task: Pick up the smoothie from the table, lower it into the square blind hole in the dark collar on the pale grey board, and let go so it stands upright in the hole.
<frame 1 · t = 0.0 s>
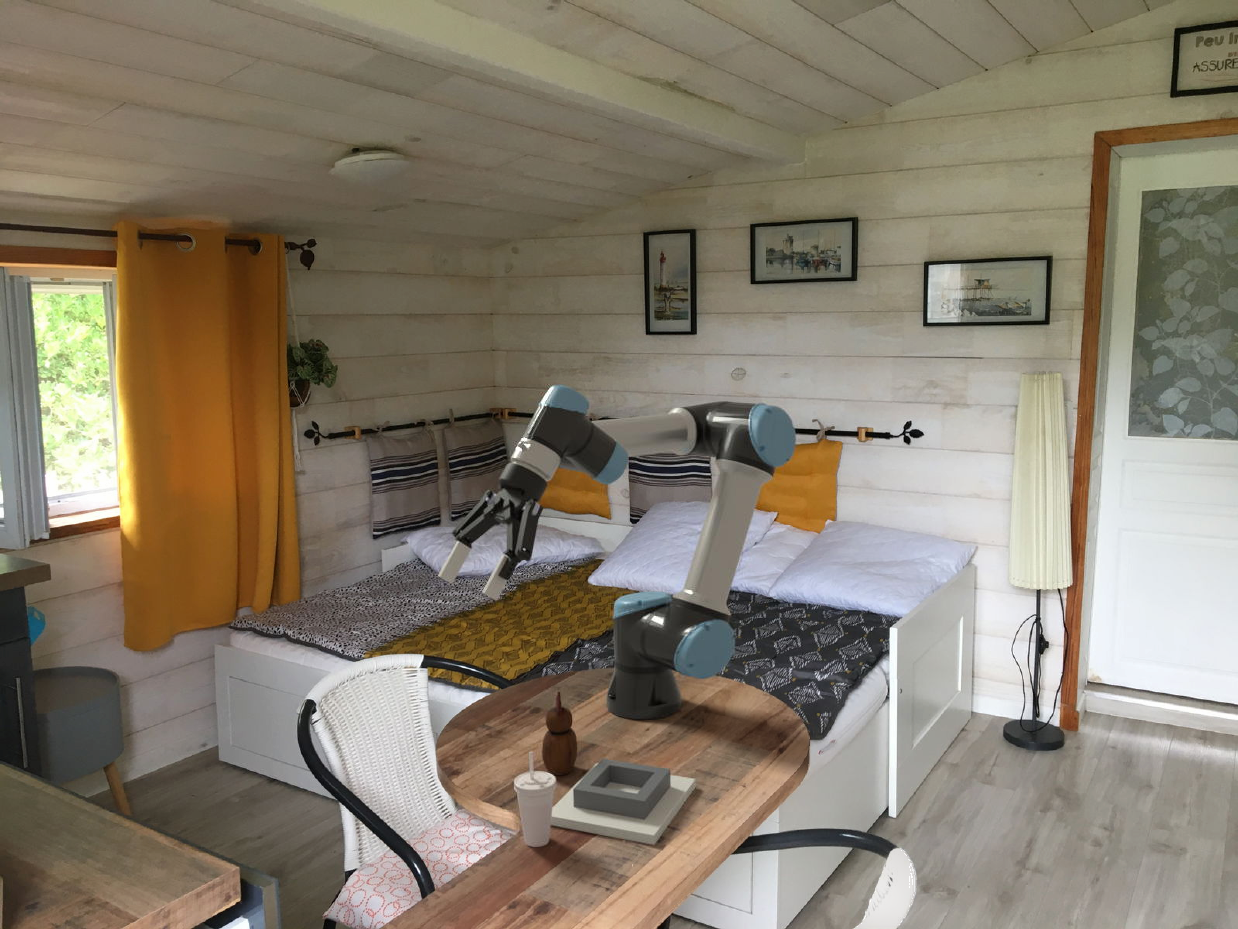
hand: (466, 588, 162), 36 cm above the table, tool tilted 35°, fingers open, 13 cm apart
smoothie: (537, 842, 154), on the table
socket board: (623, 805, 165), on the table
wooden figurine: (560, 771, 178), on the table
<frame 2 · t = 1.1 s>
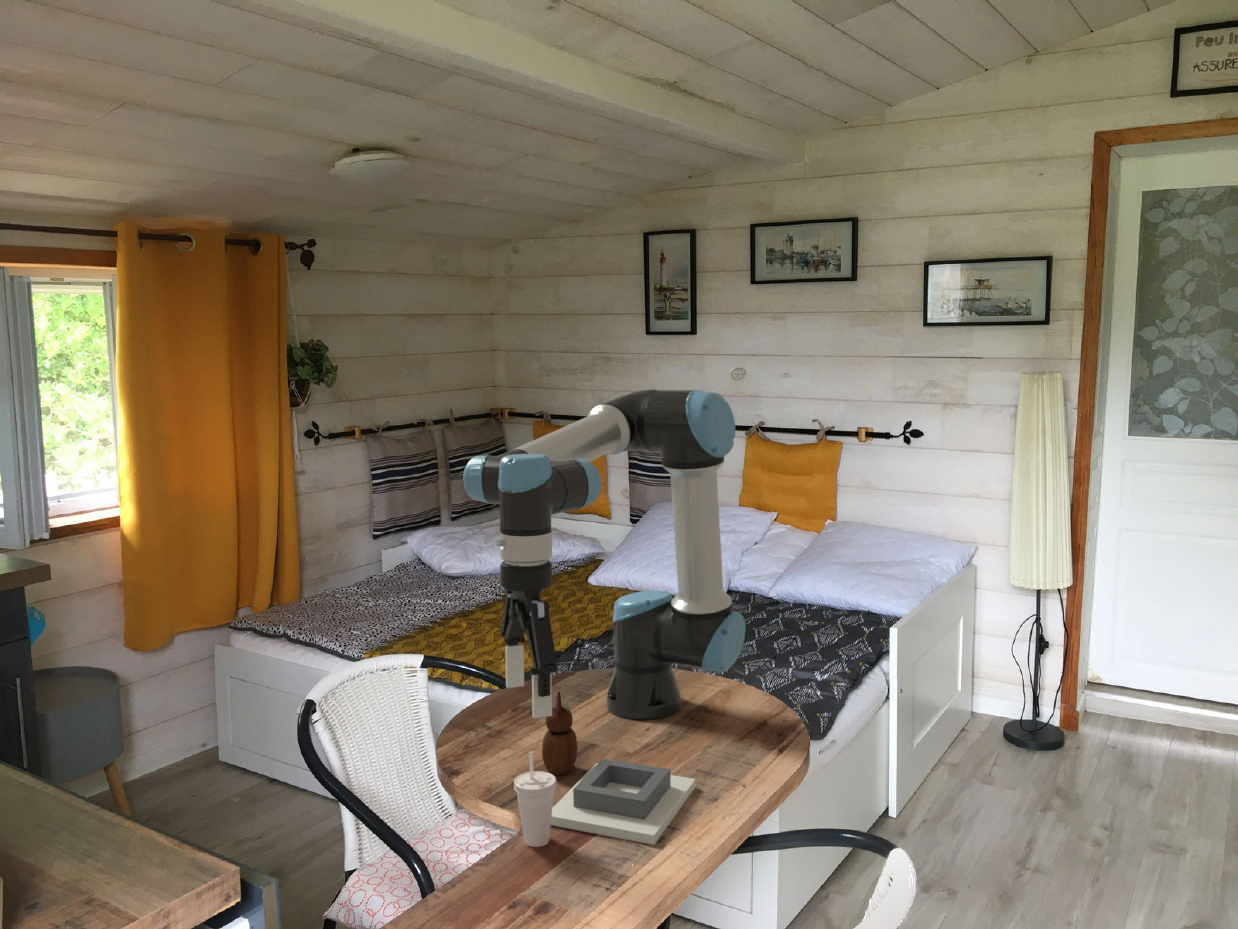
hand: (528, 701, 152), 22 cm above the table, tool pointing down, fingers open, 13 cm apart
nothing on the table moved.
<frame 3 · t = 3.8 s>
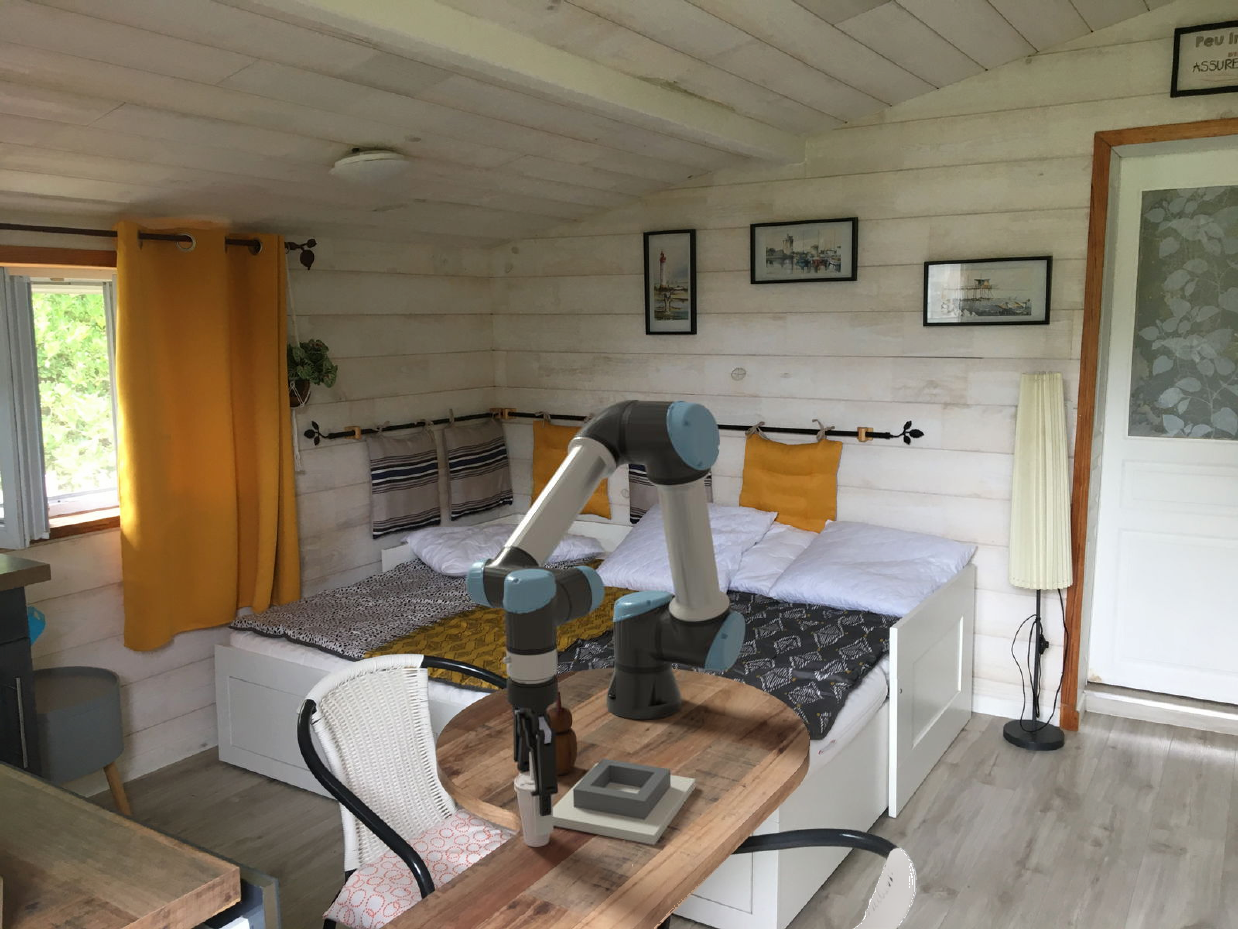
hand: (536, 822, 154), 3 cm above the table, tool pointing down, fingers closed on smoothie, 6 cm apart
smoothie: (537, 841, 154), on the table, touching gripper
everything else where it was.
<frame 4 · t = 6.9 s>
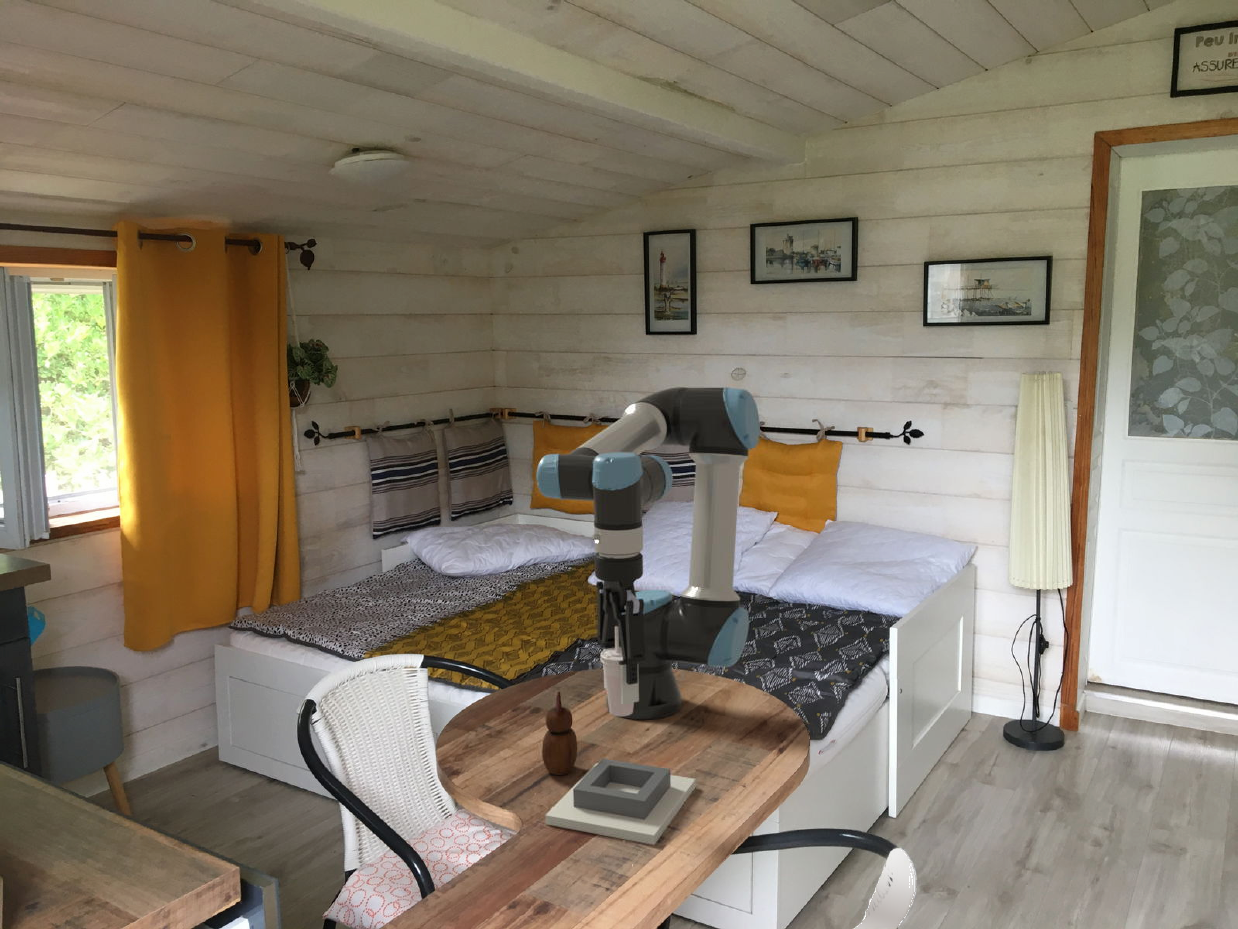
hand: (621, 694, 162), 19 cm above the table, tool pointing down, fingers closed on smoothie, 6 cm apart
smoothie: (621, 713, 163), point 16 cm above the table, touching gripper
everything else where it was.
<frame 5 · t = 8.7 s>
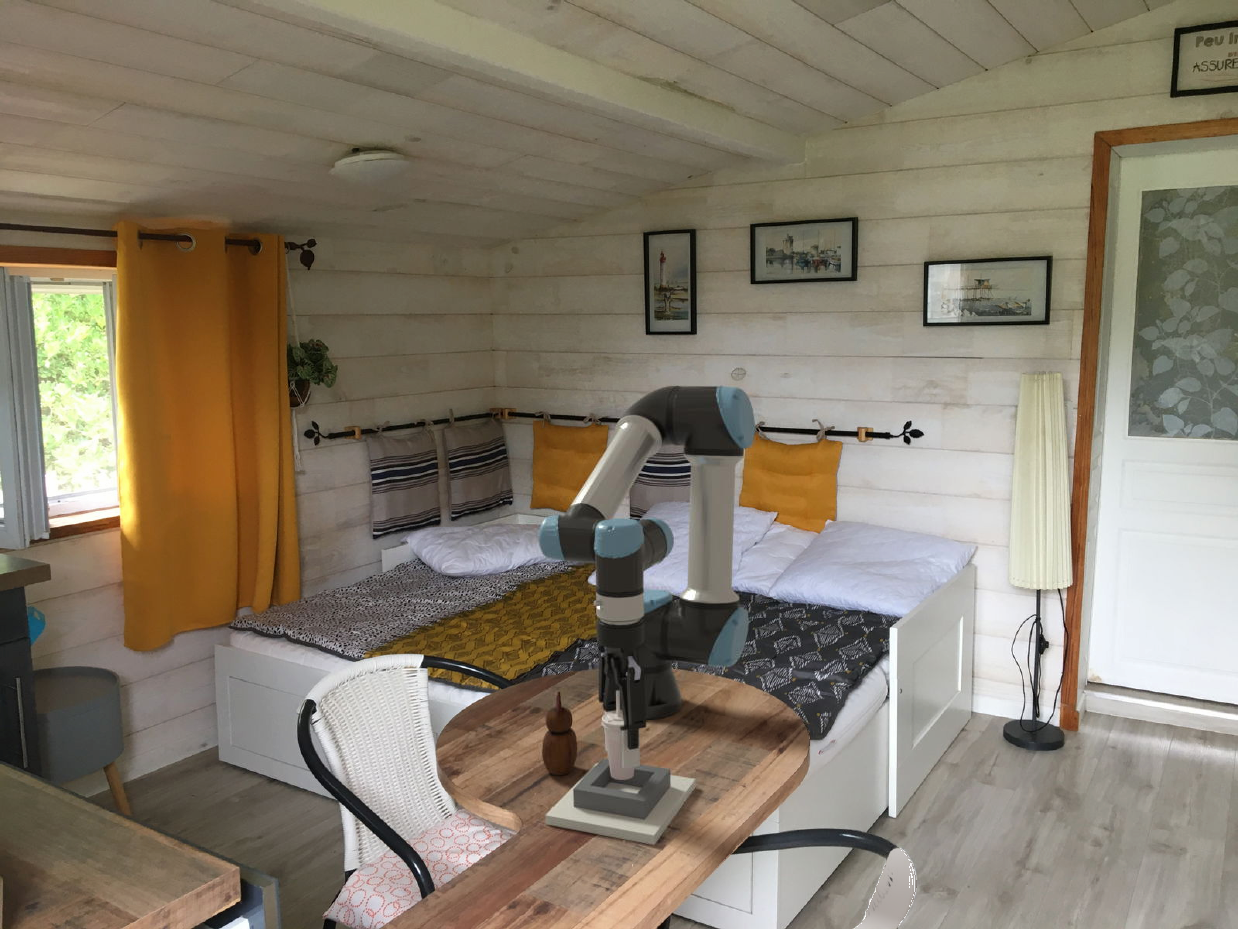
hand: (622, 757, 164), 8 cm above the table, tool pointing down, fingers closed on smoothie, 6 cm apart
smoothie: (622, 776, 164), point 5 cm above the table, touching gripper
everything else where it was.
when the fingers open (6 cm above the table, at t = 10.3 s): smoothie drops 1 cm, resting on socket board.
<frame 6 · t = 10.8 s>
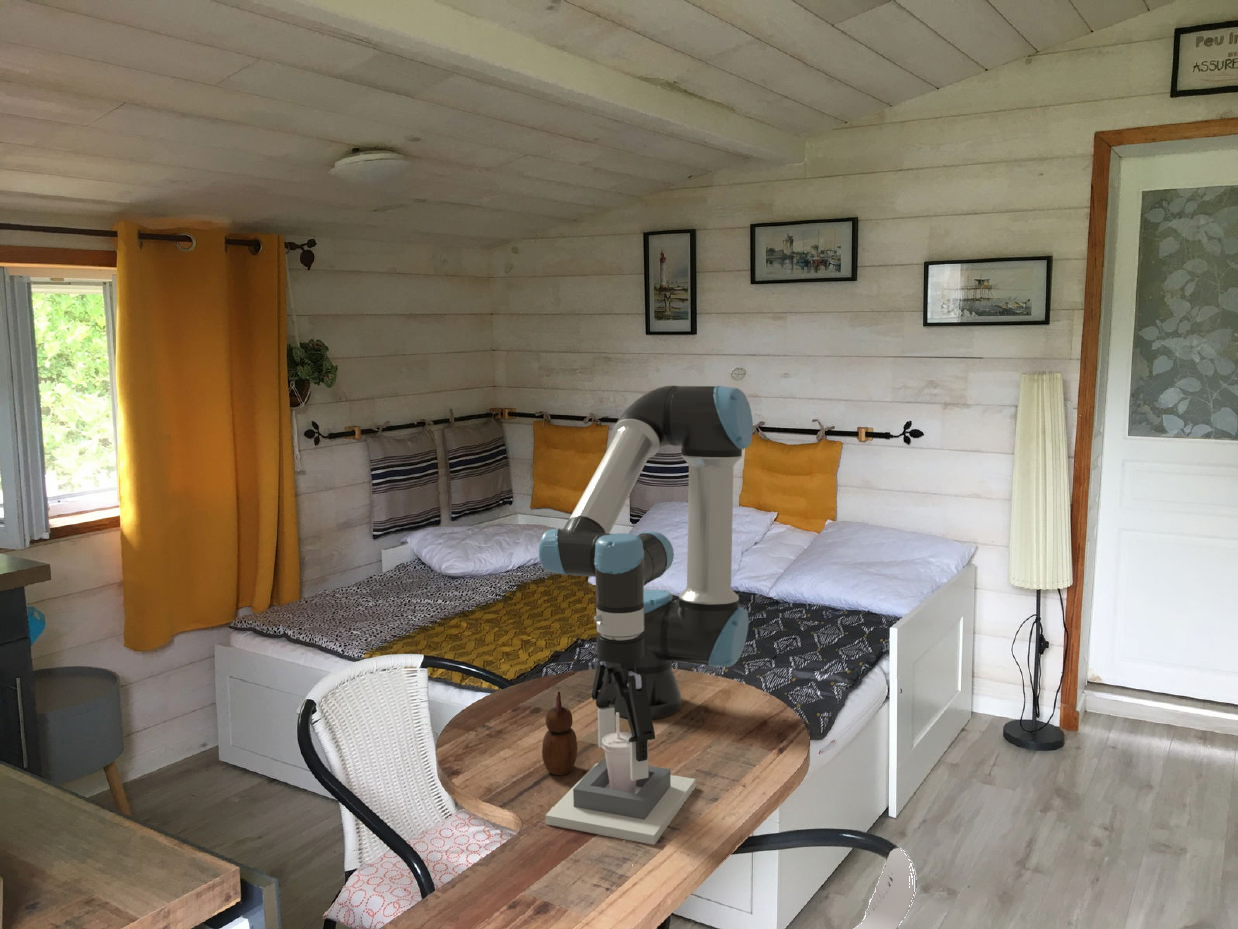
hand: (622, 761, 164), 7 cm above the table, tool pointing down, fingers open, 13 cm apart
smoothie: (623, 797, 165), point 1 cm above the table, touching socket board
everything else where it was.
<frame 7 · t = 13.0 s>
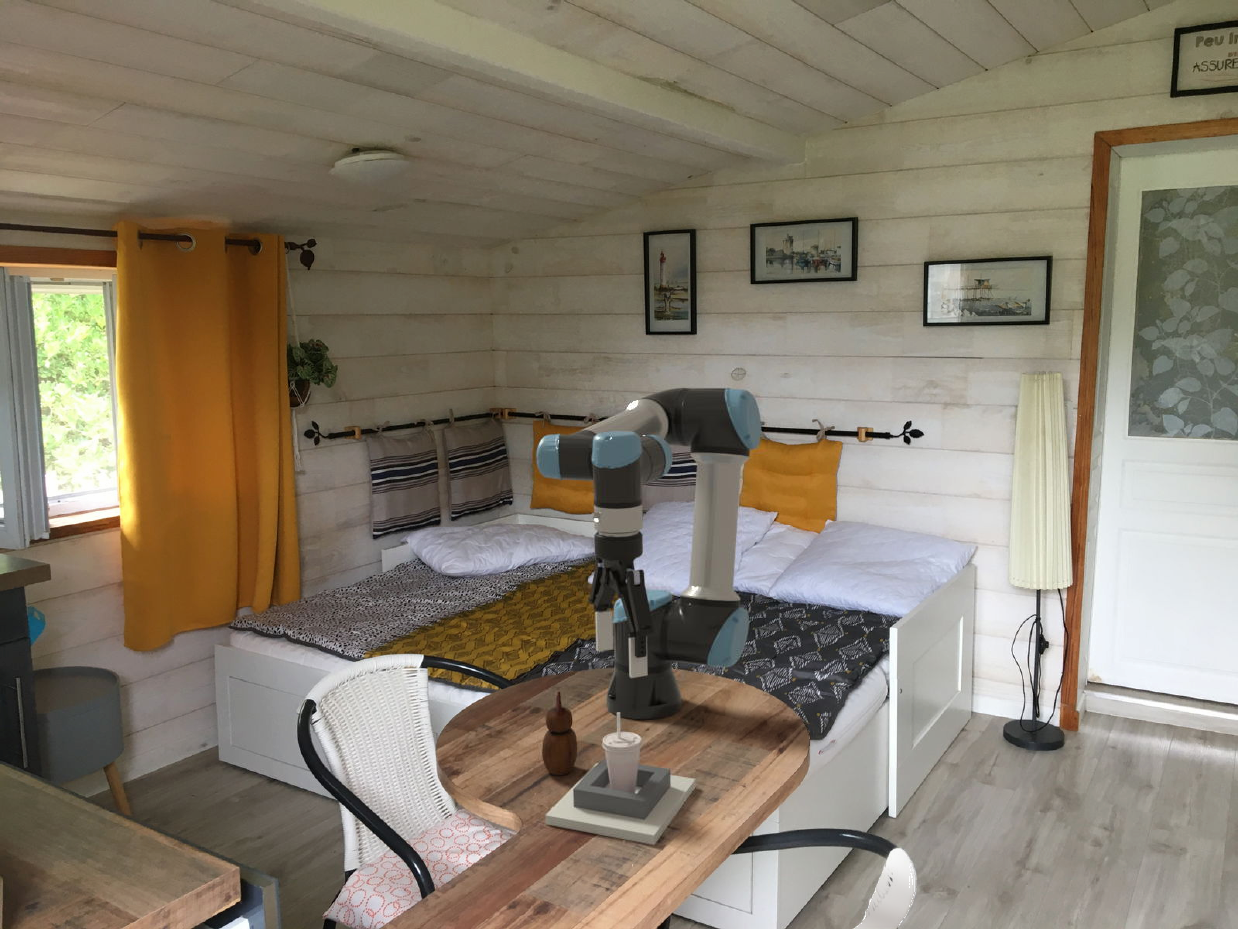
hand: (620, 662, 162), 24 cm above the table, tool pointing down, fingers open, 13 cm apart
nothing on the table moved.
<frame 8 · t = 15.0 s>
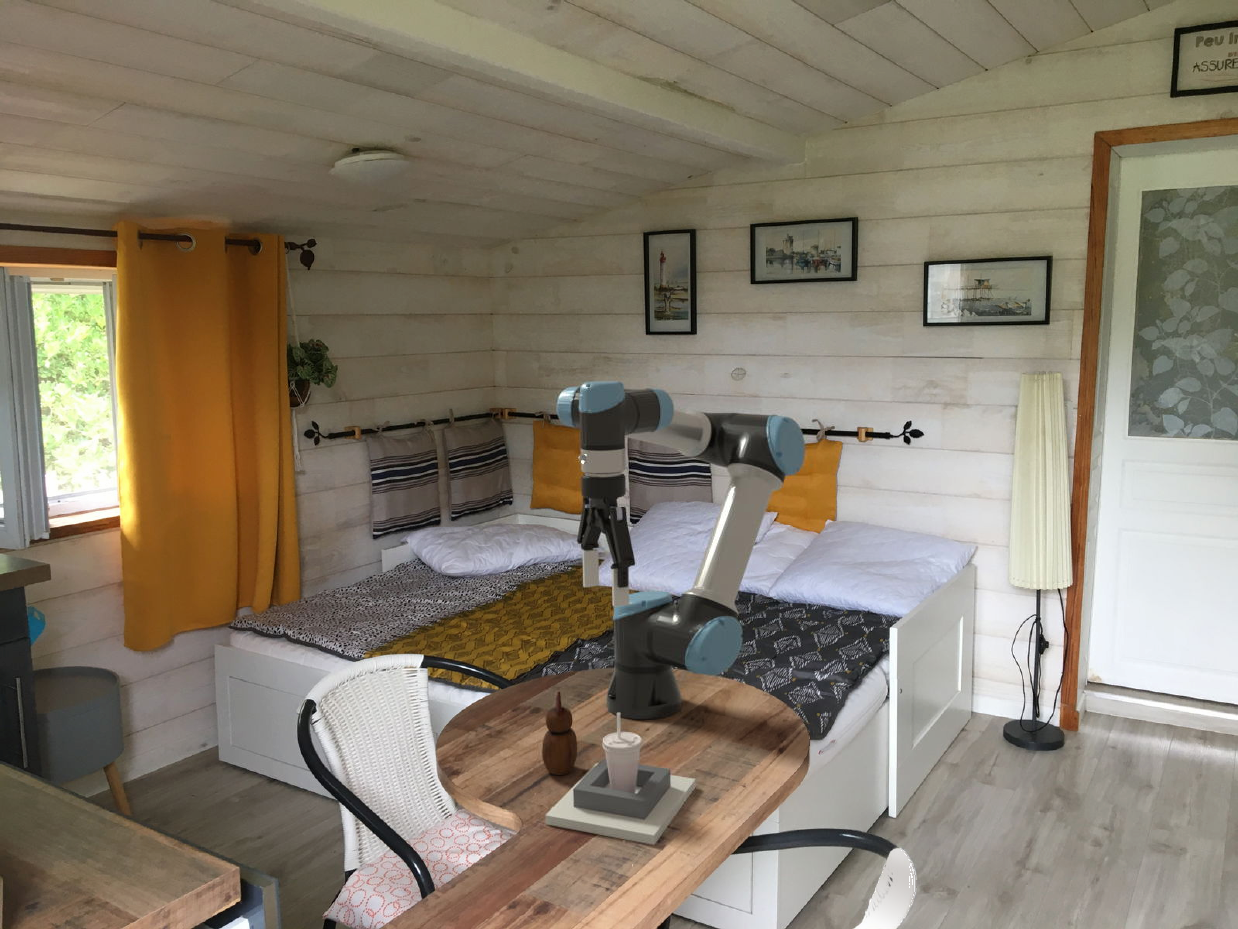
hand: (605, 595, 176), 31 cm above the table, tool pointing down, fingers open, 13 cm apart
nothing on the table moved.
at the end: smoothie 0.1 cm off-centre on the socket board, point 1.3 cm above the socket board's base; smoothie tilted 0°; the gripper is holding nothing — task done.
